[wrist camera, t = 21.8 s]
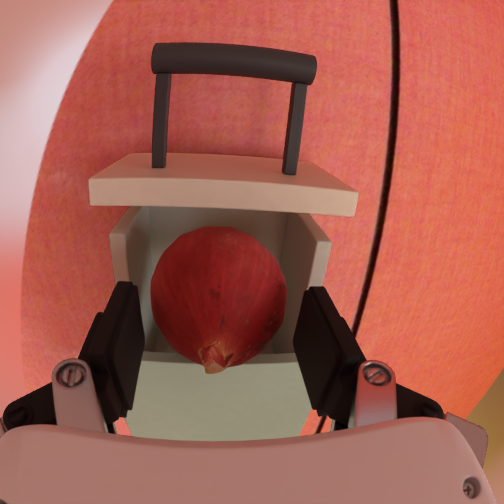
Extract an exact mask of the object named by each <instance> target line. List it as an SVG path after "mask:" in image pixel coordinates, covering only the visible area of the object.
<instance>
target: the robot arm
mask: <svg viewBox="0 0 504 504" xmlns="http://www.w3.org/2000/svg"><path fill="white" fill-rule="evenodd" d="M144 346H145V334H144V328H143V321H142V315H141V308H140V301H139V293H138V287H137V285H133V282H131V281H118V282H117V284H116V286H115V288H114V291H113V293H112V295H111V297H110V299H109V302H108V304H107V306H106V309H105V311H104V313H103V312H99V313H97V315H96V316H95V319H94V321H93V323H92V326H91V328H90V330H89V332H88V335H87V337H86V340H85V342H84V344H83V347H82V349H81V352H80V354H79V357H78V359H76V358H72V359H67V360H63V361H62V362H60V363H59V364H58V365H57V366H56V367H55V368H54V370H53V372H52V382H51V383H49V384H47V385H45V386H43V387H41V388H39V389H37V390H35V391H33V392H31V393H29V394H27V395H25V396H23V397H21V398H19V399H17V400H16V401H13V402H12V403H10V404H9V405H8V406H7V407H6V409H5V411H4V413H3V417H2V418H0V504H497V502H496V500H495V497H494V495H493V493H492V490H491V488H490V485H489V483H488V481H487V479H486V476H485V474H484V472H483V470H482V469H483V464H484V460H485V455H486V450H487V445H488V435H487V432H486V431H485V430H484V429H483V428H482V427H481V426H479V425H476V424H474V423H471V422H469V421H467V420H465V419H462V418H460V417H458V416H456V415H453V414H451V413H449V412H447V413H446V414H444V413H443V410H442V408H441V406H440V405H439V404H438V403H437V402H436V401H434V400H432V399H430V398H428V397H425V396H423V395H421V394H419V393H417V392H414V391H412V390H410V389H408V388H406V387H403V386H401V385H399V384H397V383H396V378H395V373H394V372H393V370H392V368H390V367H389V366H388V365H387V364H385V363H383V362H381V361H378V360H368V361H367V360H366V358H365V356H364V355H363V353H362V351H361V349H360V347H359V345H358V343H357V341H356V339H355V338H354V336H353V334H352V332H351V330H350V328H349V326H348V325H347V323H346V321H345V319H344V318H343V317H341V316H340V315H339V313H338V311H337V309H336V307H335V305H334V304H333V302H332V300H331V298H330V296H329V294H328V293H327V291H326V289H325V287H323V286H310V287H309V289H308V290H305V291H304V294H303V298H302V303H301V307H300V311H299V316H298V320H297V324H296V328H295V332H294V336H293V348H294V351H295V354H296V358H297V361H298V364H299V367H300V371H301V374H302V377H303V380H304V384H305V387H306V390H307V394H308V397H309V400H310V403H311V407H312V409H313V410H317V413H318V416H326V415H328V416H329V418H331V419H332V424H331V430H330V432H326V433H319V434H312V435H304V436H296V437H287V438H276V439H263V440H245V441H185V440H166V439H154V438H143V437H134V436H126V435H118V434H117V431H116V428H115V424H114V422H115V421H116V420H118V419H119V417H124V418H127V412H128V410H130V411H131V410H132V408H133V403H134V397H135V392H136V386H137V381H138V375H139V370H140V365H141V360H142V355H143V351H144Z"/></svg>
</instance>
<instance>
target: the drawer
mask: <svg viewBox="0 0 504 504" xmlns="http://www.w3.org/2000/svg"><path fill="white" fill-rule="evenodd" d="M151 67H152V72H153V74H157V75H156V86H155V99H154V114H153V135H152V153H130V154H128V155H127V156H125V157H123V158H121V159H120V160H118V161H116V162H115V163H113V164H111V165H110V166H108V167H106V168H105V169H103V170H102V171H100V172H98V173H97V174H95V175H94V176H92V177H91V178H89V179H88V187H89V201H90V205H91V206H130V207H129V208H128V209H127V211H126V212H125V213H124V214H123V216H122V217H121V218H120V220H119V221H118V222H117V224H116V225H115V226H114V228H113V229H112V230H111V232H110V233H109V241H110V250H111V258H112V265H113V272H114V279H115V285H116V284H117V282H118V281H131V282H133V285H137V287H138V293H139V301H140V308H141V315H142V321H143V328H144V334H145V346H144V351H150V352H166V353H178V352H177V351H176V350H174V349H173V348H172V347H171V346H170V345H169V344H168V342H167V340H166V339H165V337H164V336H163V334H162V332H161V331H160V329H159V328H158V326H157V324H156V323H155V321H154V318H153V314H152V307H151V296H150V283H151V279H152V276H153V273H154V271H155V268H156V266H157V263H158V260H159V259H160V257H161V255H162V254H163V252H164V251H165V250H166V249H167V248H168V247H169V246H170V245H171V244H172V243H173V242H174V241H175V240H176V239H177V238H178V237H179V236H180V235H182V234H185V233H188V232H191V231H193V230H196V229H199V228H202V227H205V226H220V227H233V228H235V229H238V230H240V231H243V232H245V233H248V234H250V235H252V236H254V237H255V238H256V239H257V240H258V241H259V242H260V243H261V244H262V245H263V246H264V247H265V248H266V249H267V250H268V251H269V252H270V253H271V254H272V255H273V256H274V257H275V258H276V260H277V262H278V264H279V267H280V269H281V272H282V274H283V276H284V279H285V282H286V287H287V296H286V305H285V314H284V319H283V324H282V325H281V327H280V328H279V330H278V331H277V333H276V334H275V335H274V337H273V338H272V340H271V341H270V343H269V344H268V345H267V347H266V348H265V349H264V350H263V351H262V352H261V353H260V354H279V353H295V351H294V348H293V336H294V332H295V328H296V324H297V320H298V316H299V311H300V307H301V303H302V298H303V294H304V291H305V290H308V289H309V287H310V286H322V284H323V279H324V275H325V271H326V267H327V263H328V259H329V254H330V250H331V245H332V241H331V240H330V239H329V238H328V236H327V235H326V234H325V233H324V231H323V230H322V229H321V228H320V226H319V225H318V224H317V223H316V222H315V220H314V219H313V218H312V217H311V215H310V214H320V215H333V216H345V217H354V214H355V210H356V205H357V200H358V195H359V192H357V191H356V190H354V189H353V188H351V187H350V186H348V185H347V184H345V183H344V182H342V181H341V180H339V179H338V178H336V177H335V176H333V175H331V174H330V173H328V172H327V171H325V170H324V169H322V168H320V167H319V166H317V165H315V164H314V163H312V162H303V161H298V157H299V150H300V142H301V134H302V126H303V118H304V110H305V101H306V93H307V85H311V84H312V83H313V81H314V78H315V75H316V70H317V60H316V57H315V56H313V55H308V54H303V53H297V52H291V51H285V50H279V49H272V48H264V47H256V46H246V45H235V44H220V43H188V42H182V43H156V44H155V45H154V47H153V51H152V58H151ZM171 74H213V75H230V76H242V77H253V78H262V79H271V80H278V81H285V82H292V87H291V96H290V105H289V113H288V122H287V130H286V139H285V147H284V155H283V159H275V158H264V157H251V156H237V155H220V154H197V153H167V132H168V115H169V100H170V88H171V77H172V75H171Z"/></svg>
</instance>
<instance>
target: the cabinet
mask: <svg viewBox="0 0 504 504" xmlns="http://www.w3.org/2000/svg"><path fill="white" fill-rule="evenodd" d="M311 408H312V407H311V403H310V400H309V397H308V394H307V390H306V387H305V384H304V380H303V377H302V374H301V371H300V367H299V364H298V361H297V358H296V354H295V353H279V354H258V355H256V356H255V357H253V358H251V359H250V360H248V361H247V362H245V363H243V364H242V365H239V366H233V367H228V368H226V369H225V370H223V371H221V372H219V373H215V374H207V373H206V372H205V368H204V366H203V365H200V364H197V363H195V362H192V361H190V360H188V359H187V358H185V357H184V356H183V355H181V354H180V353H166V352H150V351H143V355H142V360H141V365H140V370H139V375H138V381H137V386H136V392H135V397H134V403H133V408H132V410H131V411H130V410H128V412H127V418H125V421H126V423H127V425H128V427H129V430H130V432H131V434H132V436H134V437H143V438H154V439H166V440H185V441H245V440H263V439H276V438H287V437H296V436H299V434H300V432H301V430H302V428H303V426H304V423H305V421H306V419H307V417H308V415H309V413H310V410H311Z"/></svg>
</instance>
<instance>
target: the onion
mask: <svg viewBox="0 0 504 504" xmlns="http://www.w3.org/2000/svg"><path fill="white" fill-rule="evenodd" d="M150 296H151V307H152V314H153V318H154V321H155V323H156V324H157V326H158V328H159V329H160V331H161V332H162V334H163V336H164V337H165V339H166V340H167V342H168V344H169V345H170V346H171V347H172V348H173V349H174V350H176V351H177V352H178V353H180V354H181V355H183V356H184V357H185V358H187V359H188V360H190V361H192V362H195V363H197V364H200V365H203V366H204V368H205V372H206V373H207V374H215V373H219V372H221V371H223V370H225V369H226V368H228V367H233V366H239V365H242V364H243V363H245V362H247V361H248V360H250V359H251V358H253V357H255V356H256V355H258V354H260V353H261V352H262V351H263V350H264V349H265V348H266V347H267V345H268V344H269V343H270V341H271V340H272V338H273V337H274V335H275V334H276V333H277V331H278V330H279V328H280V327H281V325H282V324H283V319H284V314H285V305H286V296H287V287H286V282H285V279H284V276H283V274H282V272H281V269H280V267H279V264H278V262H277V260H276V258H275V257H274V256H273V255H272V254H271V253H270V252H269V251H268V250H267V249H266V248H265V247H264V246H263V245H262V244H261V243H260V242H259V241H258V240H257V239H256V238H255V237H254V236H252V235H250V234H248V233H245V232H243V231H240V230H238V229H235V228H233V227H220V226H205V227H202V228H199V229H196V230H193V231H191V232H188V233H185V234H182V235H180V236H179V237H178V238H177V239H176V240H175V241H174V242H173V243H172V244H171V245H170V246H169V247H168V248H167V249H166V250H165V251H164V252H163V254H162V255H161V257H160V259H159V260H158V263H157V266H156V268H155V271H154V273H153V276H152V279H151V283H150Z"/></svg>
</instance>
